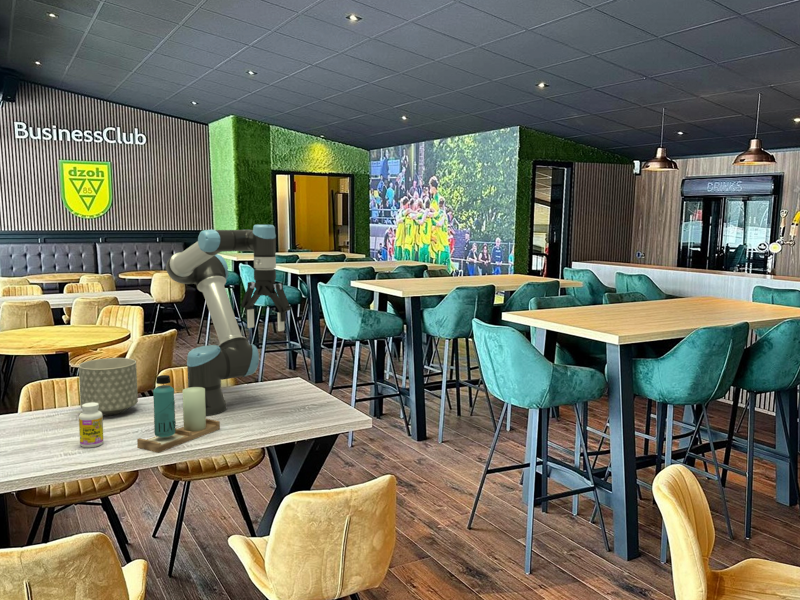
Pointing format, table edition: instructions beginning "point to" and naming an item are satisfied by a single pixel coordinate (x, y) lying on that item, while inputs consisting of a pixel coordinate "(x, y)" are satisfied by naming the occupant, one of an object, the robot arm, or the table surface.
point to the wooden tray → (176, 437)
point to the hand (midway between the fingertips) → (265, 329)
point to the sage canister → (194, 409)
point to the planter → (109, 384)
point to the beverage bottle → (164, 408)
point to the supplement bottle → (91, 425)
